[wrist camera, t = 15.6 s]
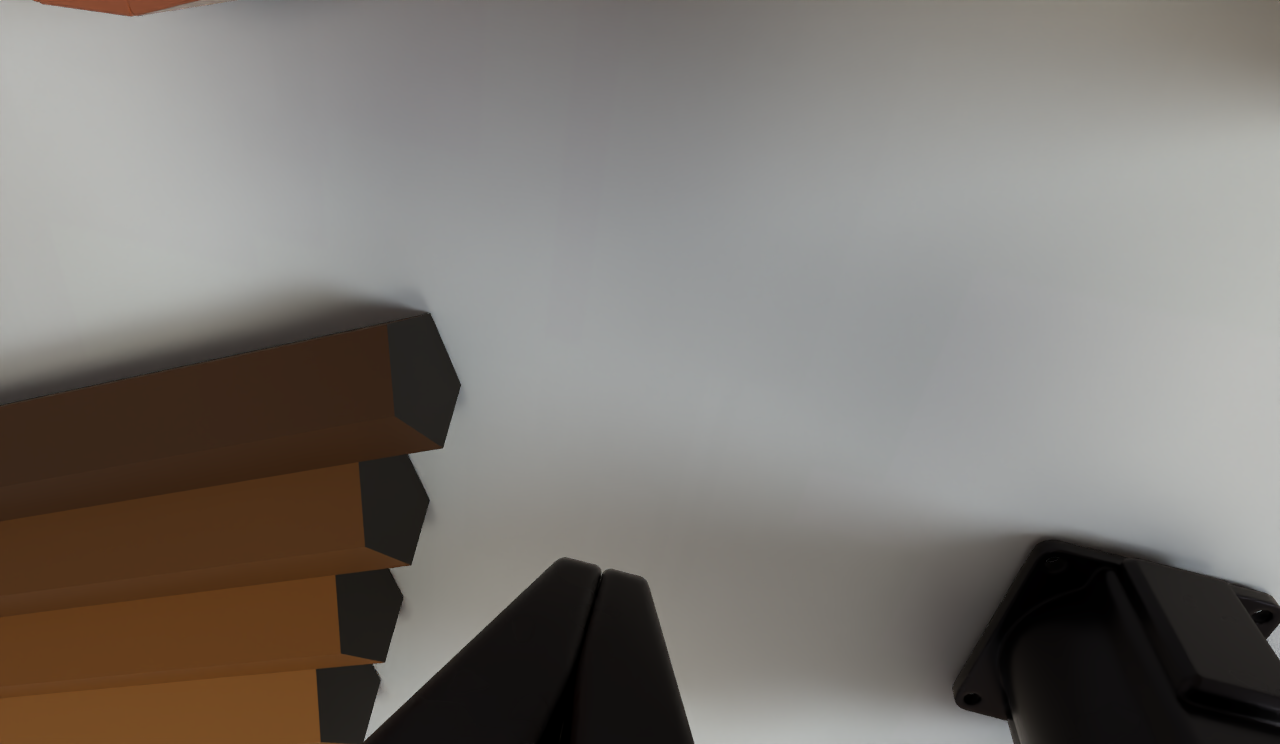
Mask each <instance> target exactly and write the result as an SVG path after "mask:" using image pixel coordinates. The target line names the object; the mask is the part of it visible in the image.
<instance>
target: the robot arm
mask: <svg viewBox="0 0 1280 744" xmlns="http://www.w3.org/2000/svg"><path fill="white" fill-rule="evenodd" d="M1053 557H1059V558H1058V559H1057V560H1055V561H1052V562H1046V561H1047V560H1048V559H1050V558H1053ZM601 574H602V572H601V568H600V567H599V566H597V565H595V564H591V563H587V562H583V561H579V560H575V559H571V558H567V557H563V558H560V559H558V560H557V561H555V562H554V563H553V564H552V565H551V566H550V567H549V568H548V569H547V570H546V571H545V572H544V573H543V574H541V575H540V576H539V577H538V578H537V579H536V580H535V581H534V582H533V583H532V584H531V585H530V586H529V587H528V588H527V589H526V590H524V591H523V592H522V593H521V594H520V595H519V596H518V597H517V598H516V599H515V600H514V601H513V602H512V603H511V604H510V605H509V606H507V607H506V608H505V609H504V610H503V611H502V612H501V613H500V614H499V615H498V616H497V617H496V618H495V619H494V620H493V621H492V622H491V623H489V624H488V625H487V626H486V627H485V628H484V629H483V630H482V631H481V632H480V633H479V634H478V635H477V636H476V637H475V638H474V639H472V640H471V641H470V642H469V643H468V644H467V645H466V646H465V647H464V648H463V649H462V650H461V651H460V652H459V653H458V654H457V655H456V656H454V657H453V658H452V659H451V660H450V661H449V662H448V663H447V664H446V665H445V666H444V667H443V668H442V669H441V670H440V671H439V672H437V673H436V674H435V675H434V676H433V677H432V678H431V679H430V680H429V681H428V682H427V683H426V684H425V685H424V686H423V687H422V688H420V689H419V690H418V691H417V692H416V693H415V694H414V695H413V696H412V697H411V698H410V699H409V700H408V701H407V702H406V703H405V704H404V705H402V706H401V707H400V708H399V709H398V710H397V711H396V712H395V713H394V714H393V715H392V716H391V717H390V718H389V719H388V720H387V721H385V722H384V723H383V724H382V725H381V726H380V727H379V728H378V729H377V730H376V731H375V732H374V733H373V734H372V735H371V736H370V737H369V738H367V739H366V740H365V741H364V742H363V743H362V744H694V741H693V737H692V734H691V730H690V727H689V723H688V720H687V716H686V713H685V710H684V706H683V703H682V699H681V696H680V692H679V689H678V685H677V682H676V678H675V675H674V671H673V668H672V665H671V661H670V658H669V654H668V651H667V647H666V644H665V640H664V637H663V633H662V630H661V626H660V623H659V619H658V616H657V613H656V609H655V606H654V602H653V599H652V595H651V592H650V588H649V585H648V583H647V581H646V580H645V579H644V578H643V577H641V576H637V575H634V574H630V573H626V572H622V571H618V570H614V569H607V570H605V571H604V572H603V574H602V576H601ZM1260 610H1262V611H1260ZM1256 611H1260V612H1257V613H1255V612H1256ZM1279 624H1280V606H1279V605H1278V603H1277V602H1276V601H1275V599H1274V598H1273V597H1272V596H1271V595H1269V594H1267V593H1264V592H1260V591H1256V590H1252V589H1248V588H1244V587H1240V586H1236V585H1232V584H1229V583H1228V582H1226V581H1224V580H1221V579H1217V578H1213V577H1209V576H1205V575H1201V574H1197V573H1193V572H1189V571H1185V570H1181V569H1178V568H1174V567H1170V566H1166V565H1162V564H1158V563H1154V562H1150V561H1146V560H1142V559H1138V558H1126V557H1122V556H1118V555H1114V554H1110V553H1106V552H1102V551H1098V550H1094V549H1090V548H1086V547H1082V546H1078V545H1074V544H1070V543H1066V542H1062V541H1058V540H1048V541H1043V542H1041V543H1039V544H1037V545H1036V546H1035V547H1034V548H1033V549H1032V551H1031V553H1030V554H1029V556H1028V558H1027V560H1026V561H1025V563H1024V565H1023V566H1022V568H1021V570H1020V571H1019V573H1018V575H1017V577H1016V578H1015V580H1014V582H1013V583H1012V585H1011V587H1010V589H1009V590H1008V592H1007V594H1006V595H1005V597H1004V599H1003V600H1002V602H1001V604H1000V606H999V607H998V609H997V611H996V612H995V614H994V616H993V618H992V619H991V621H990V623H989V624H988V626H987V628H986V629H985V631H984V633H983V635H982V636H981V638H980V640H979V641H978V643H977V645H976V647H975V648H974V650H973V652H972V653H971V655H970V657H969V659H968V660H967V662H966V664H965V665H964V667H963V669H962V670H961V672H960V674H959V676H958V677H957V679H956V681H955V682H954V684H953V688H952V689H953V694H954V699H955V702H956V704H957V705H958V706H959V707H960V708H962V709H965V710H968V711H972V712H976V713H979V714H983V715H987V716H991V717H995V718H999V719H1002V720H1006V721H1008V724H1009V728H1010V732H1011V735H1012V739H1013V742H1014V744H1280V660H1279V658H1278V657H1277V655H1276V654H1275V652H1274V651H1273V649H1272V648H1271V646H1270V645H1269V643H1268V642H1267V640H1266V639H1267V638H1268V637H1269V635H1270V634H1271V633H1272V632H1273V631H1274V630H1275V628H1276V627H1277V626H1278V625H1279ZM970 693H974V694H970Z"/></svg>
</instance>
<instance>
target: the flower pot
mask: <svg viewBox="0 0 1280 744" xmlns="http://www.w3.org/2000/svg"><path fill="white" fill-rule="evenodd" d="M34 1H36V2H40V3H41V4H45V5H52V6H59V7H66V8H73V9H80V10H87V11H95V12H102V13H109V14H116V15H123V16H130V17H132V16H142V15H148V14H155V13H161V12H167V11H173V10H180V9H186V8H192V7H198V6H204V5H211V4H217V3H223V2H230V1H236V0H34Z"/></svg>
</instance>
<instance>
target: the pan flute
mask: <svg viewBox="0 0 1280 744" xmlns="http://www.w3.org/2000/svg"><path fill="white" fill-rule="evenodd" d="M460 386H461V384H460V382H459V379H458V377H457V375H456V372H455V370H454V368H453V365H452V363H451V361H450V358H449V356H448V353H447V351H446V349H445V346H444V344H443V342H442V339H441V337H440V335H439V332H438V330H437V328H436V325H435V323H434V321H433V318H432V316H431V314H430V313H429V314H424V315H420V316H415V317H410V318H406V319H401V320H396V321H392V322H387V323H382V324H378V325H373V326H368V327H364V328H359V329H354V330H350V331H345V332H340V333H335V334H331V335H326V336H321V337H317V338H312V339H307V340H303V341H298V342H293V343H289V344H284V345H279V346H275V347H270V348H265V349H261V350H256V351H251V352H247V353H242V354H237V355H233V356H228V357H223V358H219V359H214V360H209V361H205V362H200V363H195V364H191V365H186V366H181V367H177V368H172V369H167V370H162V371H158V372H153V373H148V374H144V375H139V376H134V377H130V378H125V379H120V380H116V381H111V382H106V383H102V384H97V385H92V386H88V387H83V388H78V389H74V390H69V391H64V392H60V393H55V394H50V395H46V396H41V397H36V398H32V399H27V400H22V401H18V402H13V403H8V404H3V405H0V744H362V743H363V742H364V738H365V734H366V731H367V727H368V724H369V720H370V717H371V713H372V709H373V706H374V702H375V699H376V695H377V692H378V688H379V684H380V681H381V680H380V678H379V676H378V675H377V673H376V671H375V669H374V668H373V666H372V664H375V663H385V660H386V657H387V653H388V650H389V646H390V643H391V639H392V635H393V632H394V628H395V625H396V621H397V618H398V614H399V611H400V607H401V603H402V600H403V596H402V594H401V593H400V591H399V589H398V587H397V585H396V583H395V581H394V579H393V577H392V576H391V574H390V572H389V570H388V568H394V567H402V566H410V565H411V564H412V561H413V557H414V554H415V550H416V547H417V543H418V540H419V536H420V533H421V529H422V525H423V522H424V518H425V515H426V511H427V508H428V504H429V498H428V496H427V494H426V492H425V490H424V488H423V486H422V484H421V482H420V480H419V478H418V475H417V473H416V471H415V469H414V467H413V465H412V463H411V461H410V459H409V457H408V455H407V454H411V453H417V452H423V451H429V450H435V449H441V448H443V447H444V443H445V439H446V436H447V432H448V429H449V425H450V422H451V418H452V415H453V411H454V408H455V404H456V401H457V397H458V394H459V390H460Z"/></svg>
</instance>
